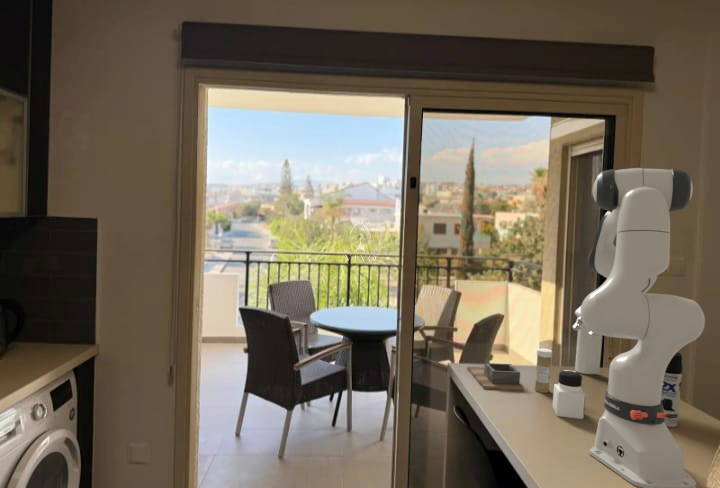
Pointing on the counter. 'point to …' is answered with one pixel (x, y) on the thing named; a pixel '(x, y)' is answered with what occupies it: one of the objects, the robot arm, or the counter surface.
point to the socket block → (497, 376)
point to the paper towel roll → (588, 352)
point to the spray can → (672, 390)
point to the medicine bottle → (569, 395)
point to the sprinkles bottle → (543, 370)
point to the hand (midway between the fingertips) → (582, 332)
